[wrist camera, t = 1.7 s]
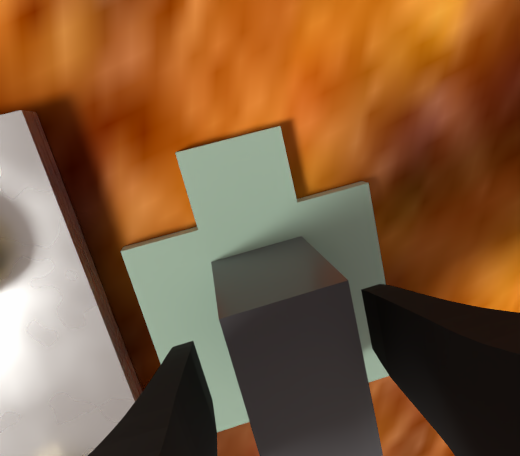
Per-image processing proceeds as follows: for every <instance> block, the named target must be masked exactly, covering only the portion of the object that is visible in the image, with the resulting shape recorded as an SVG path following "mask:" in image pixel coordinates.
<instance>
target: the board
mask: <svg viewBox="0 0 520 456" xmlns="http://www.w3.org/2000/svg"><path fill="white" fill-rule="evenodd" d="M176 157H177V160H178V163H179V167H180V170H181V174H182V177H183V180H184V184H185V187H186V190H187V194H188V197H189V201H190V204H191V207H192V211H193V214H194V217H195V221H196V224H197V227H194V228H190V229H186V230H183V231H179V232H176V233H172V234H168V235H165V236H161V237H157V238H154V239H150V240H147V241H143V242H139V243H136V244H132V245H128V246H125V247H123V248H122V250H121V254H122V257H123V260H124V263H125V265H126V268H127V271H128V274H129V277H130V279H131V282H132V285H133V288H134V291H135V293H136V296H137V299H138V302H139V305H140V307H141V310H142V313H143V316H144V319H145V321H146V324H147V327H148V330H149V333H150V335H151V338H152V341H153V344H154V347H155V349H156V352H157V355H158V358H159V361H160V363H161V364H162V362H163V361H164V359H165V357H166V356H167V354H168V353H169V351H170V350H171V348H172V347H174V346H177V345H180V344H184V343H187V342H190V341H193V342H194V345H195V348H196V351H197V354H198V357H199V360H200V363H201V366H202V369H203V372H204V375H205V378H206V381H207V385H208V388H209V391H210V394H211V397H212V400H213V407H214V414H215V422H216V429H217V432H219V431H223V430H226V429H229V428H232V427H235V426H238V425H241V424H244V423H247V422H250V424H251V428H252V431H253V434H254V438H255V441H256V444H257V448H258V451H259V454H260V456H382V455H383V454H382V449H381V444H380V438H379V433H378V428H377V423H376V418H375V413H374V408H373V403H372V398H371V393H370V388H369V383H368V382H371V381H375V380H378V379H381V378H384V377H387V376H389V374H388V373H387V371H386V370H385V368H384V367H383V365H382V364H381V362H380V360H379V359H378V357H377V355H376V354H375V352H374V351H373V349H372V345H371V340H370V334H369V329H368V324H367V318H366V313H365V308H364V303H363V297H362V292H361V289H365V288H368V287H371V286H375V285H378V284H385V285H386V283H385V277H384V271H383V265H382V259H381V253H380V247H379V242H378V236H377V230H376V224H375V218H374V212H373V206H372V200H371V195H370V189H369V183H367V182H364V181H360V182H357V183H353V184H350V185H346V186H342V187H339V188H335V189H331V190H328V191H324V192H321V193H317V194H313V195H310V196H306V197H302V198H299V199H296V194H295V190H294V185H293V181H292V176H291V172H290V167H289V163H288V158H287V154H286V149H285V145H284V140H283V136H282V131H281V127H280V126H276V127H272V128H268V129H264V130H260V131H256V132H253V133H249V134H245V135H241V136H237V137H233V138H229V139H225V140H221V141H217V142H214V143H210V144H206V145H202V146H198V147H194V148H190V149H186V150H182V151H178V152H176Z"/></svg>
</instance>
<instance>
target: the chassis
mask: <svg viewBox="0 0 520 456" xmlns="http://www.w3.org/2000/svg"><path fill="white" fill-rule="evenodd" d="M141 393H142V389H141V386H140V384H139V381H138V378H137V376H136V373H135V371H134V368H133V365H132V363H131V360H130V357H129V355H128V352H127V350H126V347H125V344H124V342H123V339H122V336H121V334H120V331H119V328H118V326H117V323H116V321H115V318H114V315H113V313H112V310H111V307H110V305H109V302H108V299H107V297H106V294H105V292H104V289H103V286H102V284H101V281H100V278H99V276H98V273H97V270H96V268H95V265H94V263H93V260H92V257H91V255H90V252H89V249H88V247H87V244H86V241H85V239H84V236H83V234H82V231H81V228H80V226H79V223H78V220H77V218H76V215H75V212H74V210H73V207H72V205H71V202H70V199H69V197H68V194H67V191H66V189H65V186H64V184H63V181H62V178H61V176H60V173H59V170H58V168H57V165H56V162H55V160H54V157H53V155H52V152H51V149H50V147H49V144H48V141H47V139H46V136H45V133H44V131H43V128H42V126H41V123H40V120H39V118H38V115H37V112H32V111H25V110H20V111H15V112H11V113H7V114H3V115H0V456H88V455H89V454H90V453H91V452H92V451H93V450H94V449H95V448H96V447H97V446H98V445H99V444H100V443H101V442H102V441H103V440H104V438H105V437H106V436H107V435H108V434H109V433H110V432H111V431H112V430H113V429H114V427H115V426H116V425H117V424H118V423H119V422H120V420H121V419H122V418H123V417H124V416H125V414H126V413H127V412H128V410H129V409H130V408H131V406H132V405H133V404H134V402H135V401H136V400H137V399H138V397H139V396H140V395H141Z"/></svg>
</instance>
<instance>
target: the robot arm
mask: <svg viewBox="0 0 520 456" xmlns="http://www.w3.org/2000/svg"><path fill="white" fill-rule="evenodd" d="M361 292H362V297H363V303H364V308H365V313H366V318H367V324H368V329H369V334H370V340H371V345H372V349H373V351H374V352H375V354H376V355H377V357H378V359H379V360H380V362H381V364H382V365H383V367H384V368H385V370H386V371H387V373H388V374H389V376H390V377H391V378H392V379H393V381H394V382H395V383H396V384H397V385H398V387H399V388H400V389H401V390H402V391H403V393H404V394H405V395H406V396H407V397H408V398H409V400H410V401H411V402H412V403H413V404H414V406H415V407H416V408H417V409H418V410H419V411H420V413H421V414H422V415H423V416H424V417H425V418H426V420H427V421H428V422H429V423H430V424H431V426H432V427H433V428H434V429H435V430H436V431H437V433H438V434H439V435H440V436H441V438H442V439H443V440H444V441H445V443H446V444H447V445H448V446H449V448H450V449H451V450H452V452H453V453H454V455H455V456H520V313H517V312H509V311H501V310H494V309H487V308H481V307H476V306H471V305H466V304H461V303H456V302H452V301H447V300H443V299H439V298H435V297H431V296H427V295H424V294H420V293H416V292H413V291H409V290H405V289H402V288H398V287H394V286H390V285H385V284H378V285H375V286H371V287H368V288H365V289H361ZM88 456H217V429H216V422H215V414H214V407H213V400H212V397H211V394H210V391H209V388H208V385H207V381H206V378H205V375H204V372H203V369H202V366H201V363H200V360H199V357H198V354H197V351H196V348H195V345H194V342H193V341H190V342H187V343H184V344H180V345H177V346H174V347H172V348H171V350H170V351H169V353H168V354H167V356H166V357H165V359H164V361H163V362H162V364H161V365H160V367H159V368H158V370H157V371H156V373H155V374H154V376H153V377H152V379H151V380H150V382H149V383H148V385H147V386H146V388H145V389H144V391H143V392H142V393H141V395H140V396H139V397H138V399H137V400H136V401H135V402H134V404H133V405H132V406H131V408H130V409H129V410H128V412H127V413H126V414H125V416H124V417H123V418H122V419H121V420H120V422H119V423H118V424H117V425H116V426H115V427H114V429H113V430H112V431H111V432H110V433H109V434H108V435H107V436H106V437H105V438H104V440H103V441H102V442H101V443H100V444H99V445H98V446H97V447H96V448H95V449H94V450H93V451H92V452H91V453H90V454H89V455H88Z"/></svg>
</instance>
